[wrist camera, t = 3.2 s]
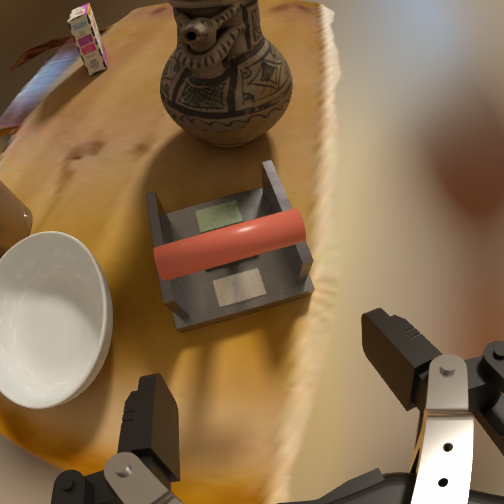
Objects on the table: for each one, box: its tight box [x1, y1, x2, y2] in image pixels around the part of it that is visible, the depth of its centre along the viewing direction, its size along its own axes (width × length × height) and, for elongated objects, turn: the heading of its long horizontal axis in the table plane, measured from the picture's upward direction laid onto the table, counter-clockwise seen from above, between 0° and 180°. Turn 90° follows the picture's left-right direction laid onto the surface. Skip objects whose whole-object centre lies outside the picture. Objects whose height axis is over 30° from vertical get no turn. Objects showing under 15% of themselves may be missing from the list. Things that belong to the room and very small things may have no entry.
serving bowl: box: [0, 231, 113, 409], centre depth 30 cm, size 21×21×7 cm
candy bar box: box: [68, 3, 107, 76], centre depth 51 cm, size 11×5×16 cm, turn 22°
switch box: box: [146, 160, 314, 332], centre depth 33 cm, size 14×15×8 cm
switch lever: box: [154, 208, 306, 281], centre depth 27 cm, size 2×10×13 cm, turn 106°
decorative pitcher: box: [160, 0, 293, 148], centre depth 34 cm, size 22×18×25 cm
